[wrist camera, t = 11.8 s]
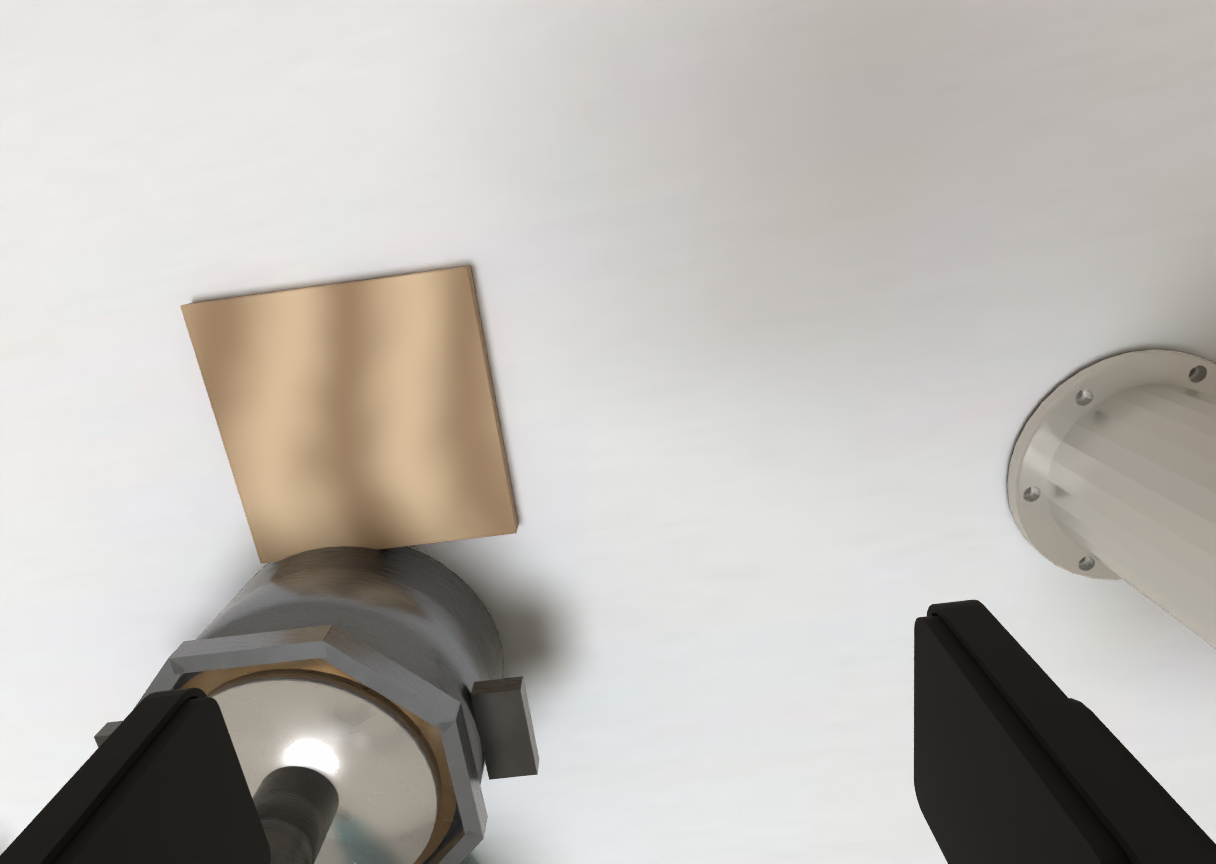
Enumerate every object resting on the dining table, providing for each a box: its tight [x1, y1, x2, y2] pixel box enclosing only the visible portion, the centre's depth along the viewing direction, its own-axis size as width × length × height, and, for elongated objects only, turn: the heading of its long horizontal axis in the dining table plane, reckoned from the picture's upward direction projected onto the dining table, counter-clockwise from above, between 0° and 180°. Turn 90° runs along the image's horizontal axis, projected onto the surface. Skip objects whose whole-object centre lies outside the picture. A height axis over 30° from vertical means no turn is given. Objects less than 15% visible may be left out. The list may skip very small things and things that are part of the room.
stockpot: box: [94, 546, 539, 864], centre depth 38 cm, size 21×16×10 cm
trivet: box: [181, 266, 518, 563], centre depth 37 cm, size 14×14×1 cm
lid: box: [206, 668, 441, 864], centre depth 31 cm, size 12×12×6 cm
